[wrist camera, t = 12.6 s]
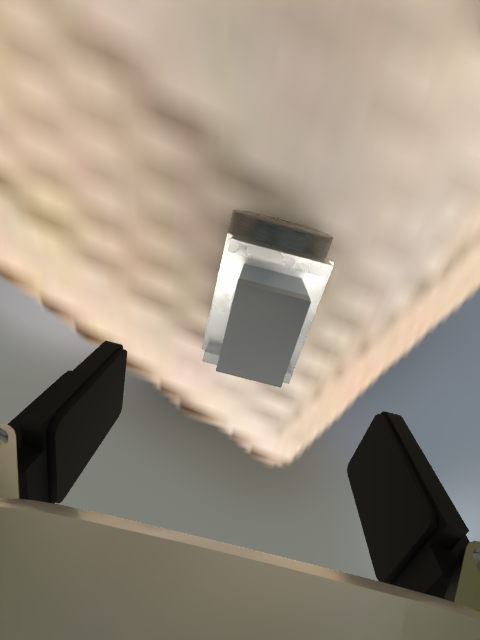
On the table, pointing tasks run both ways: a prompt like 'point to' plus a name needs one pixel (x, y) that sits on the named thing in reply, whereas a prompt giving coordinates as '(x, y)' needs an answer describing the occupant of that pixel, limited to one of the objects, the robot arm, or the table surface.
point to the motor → (272, 254)
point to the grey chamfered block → (263, 325)
